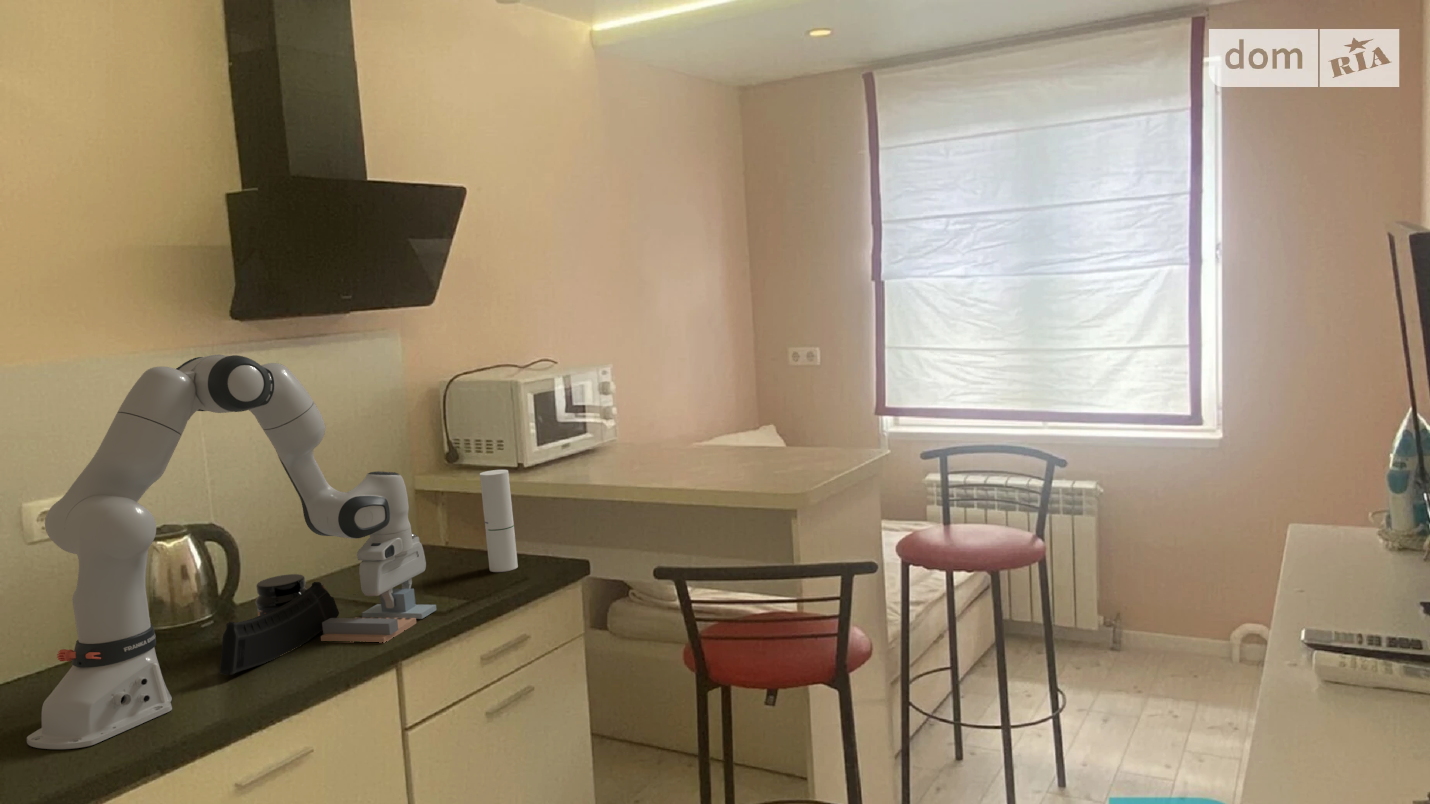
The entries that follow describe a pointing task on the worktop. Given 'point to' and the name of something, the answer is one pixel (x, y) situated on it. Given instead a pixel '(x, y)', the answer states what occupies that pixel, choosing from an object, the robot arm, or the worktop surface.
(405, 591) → the grey plate with knob
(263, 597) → the supplement container
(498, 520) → the cylindrical container
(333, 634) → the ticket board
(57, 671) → the worktop surface
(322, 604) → the magazine
